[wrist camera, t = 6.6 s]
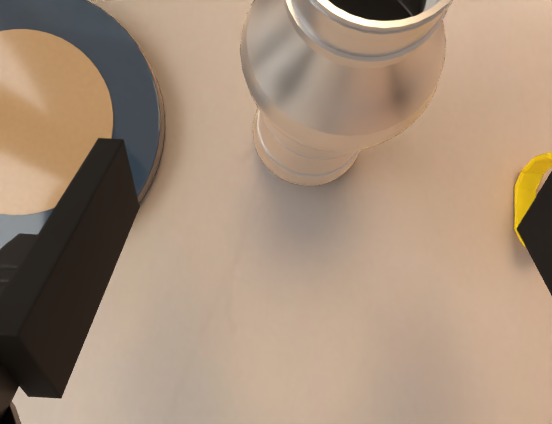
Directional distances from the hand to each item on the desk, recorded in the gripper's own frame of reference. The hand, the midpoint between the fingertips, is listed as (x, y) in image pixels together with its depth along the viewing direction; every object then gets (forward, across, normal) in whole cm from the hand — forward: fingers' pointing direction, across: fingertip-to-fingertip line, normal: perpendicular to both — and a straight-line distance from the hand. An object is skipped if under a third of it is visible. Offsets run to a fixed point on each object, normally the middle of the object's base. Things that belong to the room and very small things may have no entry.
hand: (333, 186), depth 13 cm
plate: (+14, -18, -7) cm, 24 cm away
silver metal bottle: (+14, 0, -7) cm, 16 cm away
